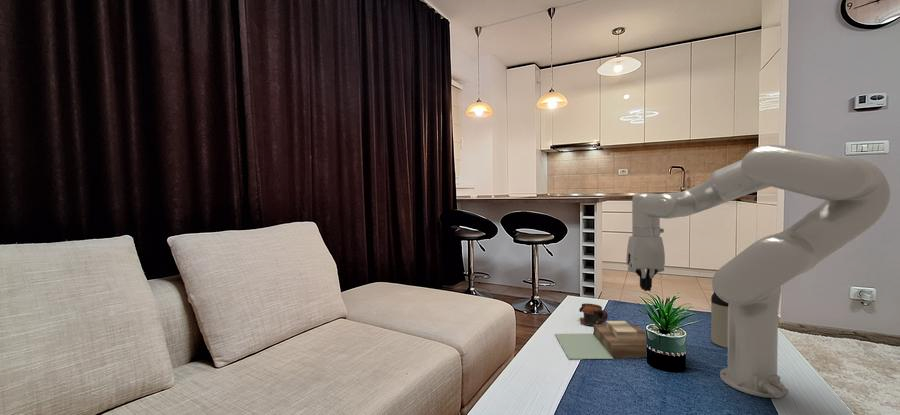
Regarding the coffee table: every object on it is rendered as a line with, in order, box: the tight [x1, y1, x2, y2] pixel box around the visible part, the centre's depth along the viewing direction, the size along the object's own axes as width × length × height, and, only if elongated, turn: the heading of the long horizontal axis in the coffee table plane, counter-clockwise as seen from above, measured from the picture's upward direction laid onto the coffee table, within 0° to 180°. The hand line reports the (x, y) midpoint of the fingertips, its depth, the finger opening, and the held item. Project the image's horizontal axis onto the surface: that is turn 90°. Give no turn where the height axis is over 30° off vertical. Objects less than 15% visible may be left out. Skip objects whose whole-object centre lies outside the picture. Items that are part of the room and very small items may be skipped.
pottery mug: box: [578, 303, 609, 327], centre depth 132 cm, size 12×10×8 cm
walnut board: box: [593, 323, 647, 359], centre depth 112 cm, size 16×14×4 cm
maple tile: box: [605, 320, 638, 340], centre depth 112 cm, size 9×6×2 cm, turn 176°
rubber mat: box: [554, 332, 615, 361], centre depth 113 cm, size 18×13×1 cm
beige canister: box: [710, 286, 729, 349], centre depth 110 cm, size 8×8×18 cm
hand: (645, 289), depth 111 cm, fingers closed
